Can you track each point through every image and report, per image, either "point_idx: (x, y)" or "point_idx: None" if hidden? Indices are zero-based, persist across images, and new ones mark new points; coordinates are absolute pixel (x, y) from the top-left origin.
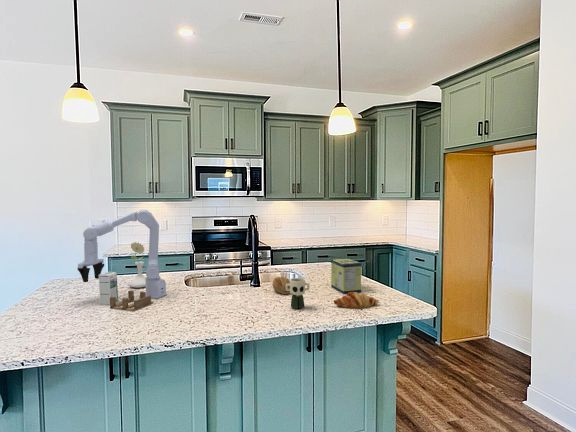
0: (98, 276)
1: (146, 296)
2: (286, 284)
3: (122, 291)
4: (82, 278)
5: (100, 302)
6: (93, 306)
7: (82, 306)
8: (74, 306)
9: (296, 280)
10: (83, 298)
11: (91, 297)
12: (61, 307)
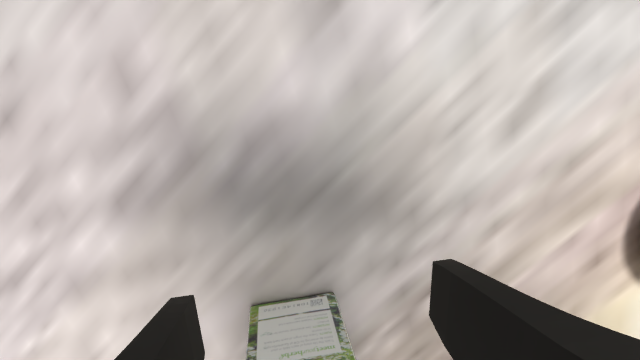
0: (447, 342)
1: None
2: None
3: (567, 200)
4: (135, 344)
5: (249, 316)
6: None
7: (157, 232)
8: (128, 173)
9: None
10: (341, 47)
11: (383, 95)
12: (50, 85)
